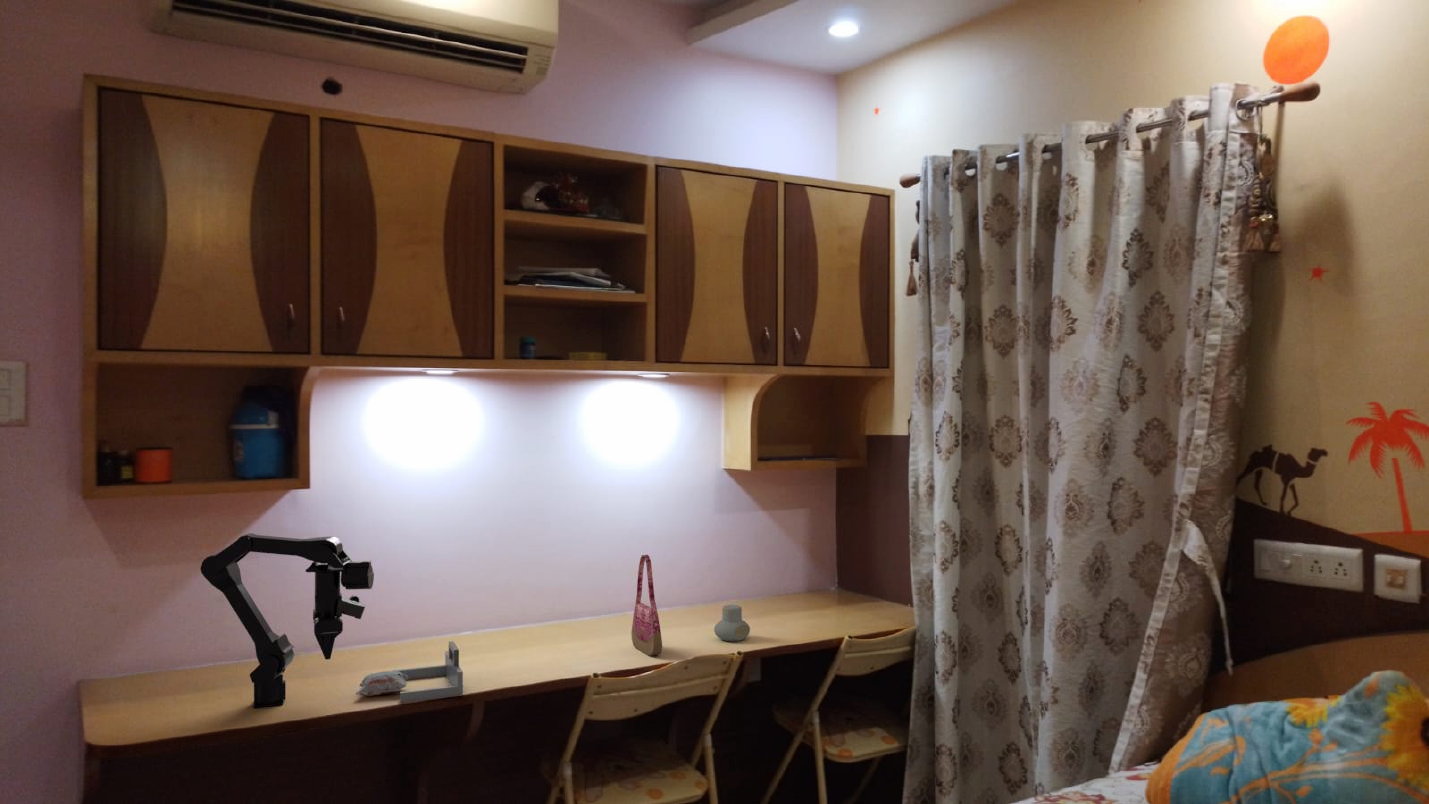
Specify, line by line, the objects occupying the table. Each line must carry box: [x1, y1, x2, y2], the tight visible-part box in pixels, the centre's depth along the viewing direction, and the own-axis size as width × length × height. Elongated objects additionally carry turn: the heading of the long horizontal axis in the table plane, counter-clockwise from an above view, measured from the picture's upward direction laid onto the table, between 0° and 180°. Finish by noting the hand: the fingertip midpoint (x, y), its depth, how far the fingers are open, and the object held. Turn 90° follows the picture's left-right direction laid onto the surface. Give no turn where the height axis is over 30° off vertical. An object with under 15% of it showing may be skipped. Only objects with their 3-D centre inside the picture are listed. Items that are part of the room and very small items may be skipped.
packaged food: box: [355, 670, 409, 697], centre depth 236 cm, size 9×12×5 cm
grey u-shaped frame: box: [391, 640, 464, 704], centre depth 241 cm, size 15×21×10 cm
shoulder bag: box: [631, 554, 663, 657], centre depth 277 cm, size 17×3×28 cm, turn 27°
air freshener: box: [713, 604, 751, 643], centre depth 291 cm, size 11×8×10 cm
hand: (327, 654), depth 230 cm, fingers open, 9 cm apart
